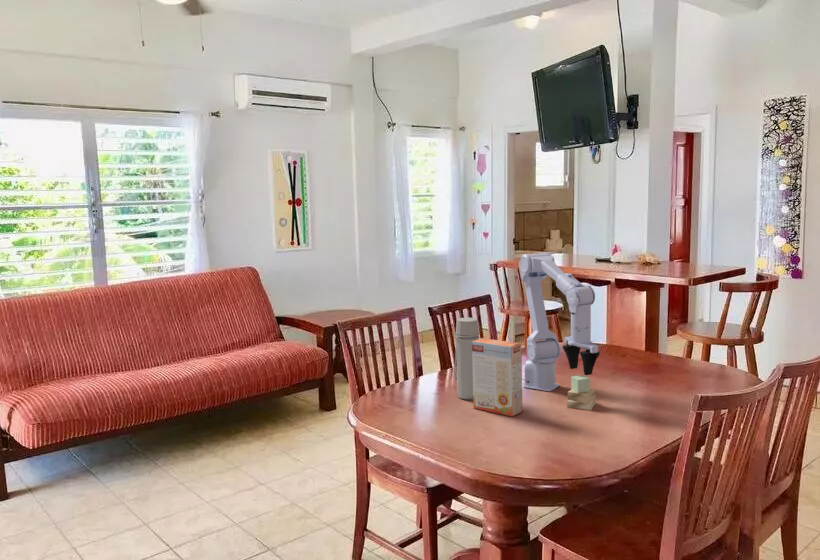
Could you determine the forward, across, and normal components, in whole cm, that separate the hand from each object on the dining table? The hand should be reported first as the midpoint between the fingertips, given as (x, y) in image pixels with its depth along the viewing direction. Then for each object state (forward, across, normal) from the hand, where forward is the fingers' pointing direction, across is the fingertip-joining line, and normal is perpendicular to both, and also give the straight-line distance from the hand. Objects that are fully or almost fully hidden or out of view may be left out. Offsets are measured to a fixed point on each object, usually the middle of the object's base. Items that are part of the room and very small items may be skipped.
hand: (580, 371), depth 201 cm
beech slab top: (+8, +1, 0) cm, 8 cm away
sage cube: (+6, 0, 0) cm, 6 cm away
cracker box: (+10, -6, -25) cm, 28 cm away
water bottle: (+10, -22, -28) cm, 37 cm away
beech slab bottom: (+11, 0, 0) cm, 11 cm away
